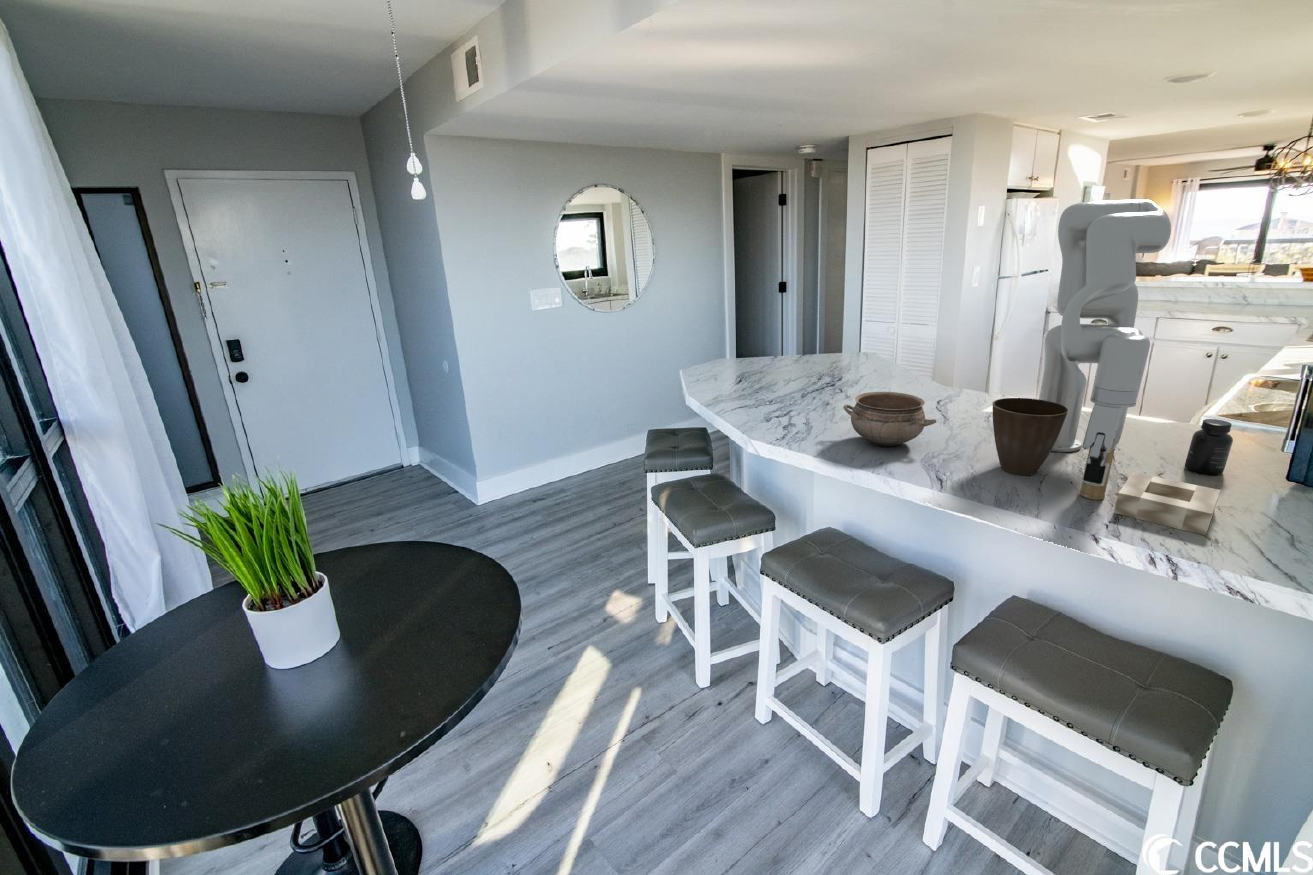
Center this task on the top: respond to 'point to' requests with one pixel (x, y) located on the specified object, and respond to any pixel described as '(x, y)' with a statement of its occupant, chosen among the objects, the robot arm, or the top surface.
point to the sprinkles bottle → (1095, 489)
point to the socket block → (1167, 502)
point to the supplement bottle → (1210, 448)
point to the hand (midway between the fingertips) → (1095, 477)
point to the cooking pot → (888, 417)
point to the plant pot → (1025, 432)
